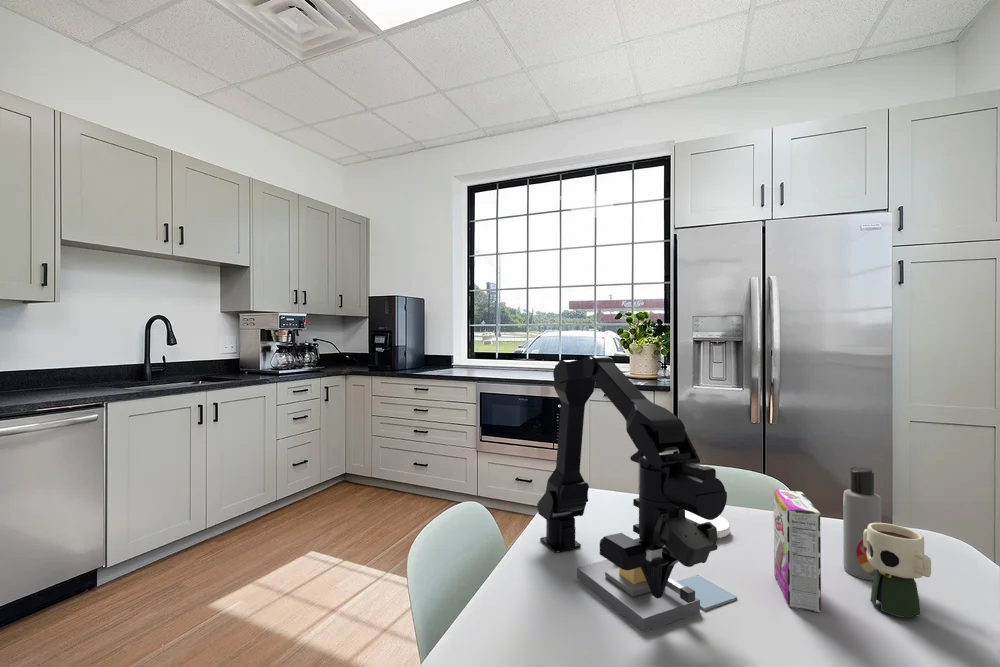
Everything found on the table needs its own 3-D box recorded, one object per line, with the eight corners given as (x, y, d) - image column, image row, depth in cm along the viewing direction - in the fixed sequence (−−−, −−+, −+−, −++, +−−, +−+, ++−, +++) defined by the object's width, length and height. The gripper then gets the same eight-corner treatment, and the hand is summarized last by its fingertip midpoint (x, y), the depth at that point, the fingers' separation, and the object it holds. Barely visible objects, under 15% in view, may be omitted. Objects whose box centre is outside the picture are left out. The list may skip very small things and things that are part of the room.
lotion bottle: (888, 582, 83) (888, 473, 84) (853, 579, 84) (853, 471, 85) (870, 567, 89) (870, 465, 89) (837, 564, 90) (837, 463, 90)
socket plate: (576, 578, 83) (576, 567, 83) (627, 564, 88) (627, 554, 88) (643, 632, 68) (643, 618, 68) (699, 612, 73) (700, 599, 73)
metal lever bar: (611, 557, 87) (611, 545, 87) (618, 555, 87) (618, 544, 87) (687, 608, 70) (688, 593, 70) (695, 605, 71) (695, 591, 71)
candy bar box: (771, 575, 85) (772, 487, 86) (803, 580, 84) (803, 491, 84) (786, 608, 75) (786, 507, 75) (822, 614, 73) (822, 512, 73)
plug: (604, 588, 80) (605, 543, 80) (635, 580, 83) (635, 536, 83) (632, 610, 74) (633, 560, 74) (664, 600, 77) (665, 552, 77)
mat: (666, 586, 81) (666, 584, 81) (698, 576, 84) (698, 574, 84) (704, 610, 74) (704, 608, 74) (737, 599, 77) (737, 596, 77)
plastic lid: (657, 532, 105) (657, 521, 105) (672, 514, 116) (672, 504, 116) (723, 549, 97) (724, 537, 97) (733, 527, 108) (733, 516, 108)
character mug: (846, 593, 79) (846, 518, 80) (882, 591, 80) (882, 517, 81) (909, 633, 69) (909, 546, 69) (950, 630, 70) (950, 544, 70)
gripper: (652, 525, 59) (651, 645, 59) (744, 504, 68) (744, 609, 68) (597, 498, 69) (596, 601, 69) (684, 483, 78) (683, 574, 78)
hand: (657, 596), depth 71 cm, fingers closed
